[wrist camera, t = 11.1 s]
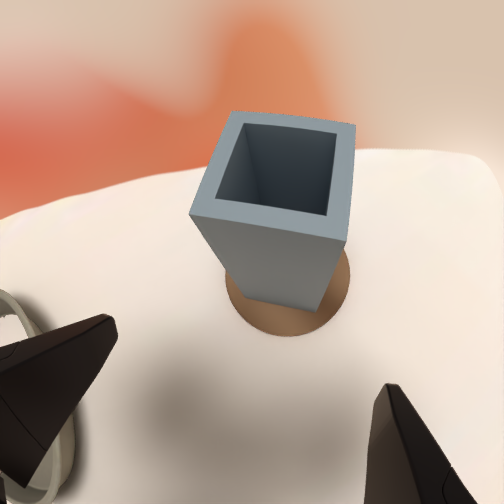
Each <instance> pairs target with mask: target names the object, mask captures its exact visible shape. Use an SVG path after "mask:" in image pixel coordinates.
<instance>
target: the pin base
mask: <svg viewBox="0 0 504 504" xmlns="http://www.w3.org/2000/svg"><path fill="white" fill-rule="evenodd" d="M225 278H226V287H227V292H228V294H229V297H230V300H231V302H232V304H233V306H234V307H235V309H236V310H237V311H238V313H239V314H240V315H241V316H242V317H243V318H244V319H245V320H246V321H247V322H248V323H250V324H251V325H252V326H254V327H256V328H257V329H259V330H261V331H263V332H266V333H269V334H272V335H277V336H297V335H302V334H306V333H309V332H311V331H314V330H316V329H317V328H319V327H321V326H323V325H324V324H325V323H326V322H328V321H329V320H330V319H331V318H332V317H333V316H334V315H335V313H336V312H337V311H338V309H339V308H340V307H341V305H342V303H343V301H344V299H345V297H346V294H347V292H348V287H349V282H350V268H349V263H348V259H347V256H346V253H345V251H344V249H343V251H342V254H341V256H340V258H339V261H338V263H337V266H336V268H335V270H334V273H333V275H332V277H331V280H330V282H329V284H328V287H327V289H326V291H325V293H324V296H323V298H322V300H321V302H320V304H319V307H318V309H317V311H316V313H315V312H310V311H305V310H300V309H295V308H290V307H285V306H280V305H275V304H271V303H266V302H261V301H257V300H252V299H248V298H245V297H244V295H243V294H242V292H241V291H240V290H239V288H238V287H237V285H236V284H235V282H234V281H233V279H232V278H231V277H230V275H229V274H228V272H227V271H226V274H225Z"/></svg>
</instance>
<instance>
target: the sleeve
mask: <svg viewBox="0 0 504 504" xmlns="http://www.w3.org/2000/svg"><path fill="white" fill-rule="evenodd" d="M355 133H356V125H354V124H348V123H343V122H337V121H330V120H323V119H317V118H310V117H302V116H293V115H284V114H272V113H260V112H259V113H258V112H243V111H232V112H231V114H230V116H229V118H228V120H227V123H226V125H225V127H224V129H223V132H222V134H221V136H220V138H219V140H218V143H217V145H216V148H215V150H214V152H213V155H212V157H211V159H210V161H209V164H208V166H207V169H206V171H205V173H204V176H203V178H202V181H201V183H200V186H199V188H198V191H197V193H196V196H195V198H194V201H193V204H192V206H191V209H190V211H189V216H190V217H191V219H192V220H193V222H194V223H195V225H196V226H197V228H198V229H199V231H200V232H201V234H202V235H203V237H204V238H205V240H206V241H207V243H208V244H209V246H210V247H211V249H212V250H213V252H214V253H215V255H216V256H217V258H218V259H219V260H220V262H221V263H222V265H223V266H224V268H225V269H226V271H227V272H228V274H229V275H230V277H231V278H232V279H233V281H234V282H235V284H236V285H237V287H238V288H239V290H240V291H241V292H242V294H243V295H244V297H245V298H248V299H252V300H257V301H261V302H266V303H271V304H275V305H280V306H285V307H290V308H295V309H300V310H305V311H310V312H315V313H316V311H317V309H318V307H319V304H320V302H321V300H322V298H323V296H324V293H325V291H326V289H327V287H328V284H329V282H330V280H331V277H332V275H333V273H334V270H335V268H336V266H337V263H338V261H339V258H340V256H341V254H342V251H343V249H344V246H345V244H346V241H347V233H348V225H349V216H350V206H351V195H352V184H353V170H354V155H355Z"/></svg>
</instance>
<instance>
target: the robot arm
mask: <svg viewBox="0 0 504 504" xmlns="http://www.w3.org/2000/svg"><path fill="white" fill-rule="evenodd" d="M117 339H118V332H117V328H116V324H115V320H114V318H113V317H112V316H109V315H107V314H100V315H97V316H94V317H91V318H88V319H85V320H82V321H79V322H76V323H73V324H70V325H67V326H64V327H61V328H58V329H55V330H52V331H49V332H46V333H43V334H40V335H37V336H34V337H31V338H28V339H25V340H22V341H18V342H15V343H12V344H9V345H6V346H2V347H0V504H7V501H6V494H5V486H4V479H3V477H2V476H1V474H2V473H4V474H5V475H7V476H8V477H9V478H10V479H12V480H13V481H14V482H16V483H17V484H18V485H20V486H21V487H22V488H24V489H25V488H26V487H27V486H28V484H29V482H30V480H31V478H32V477H33V475H34V473H35V472H36V470H37V468H38V466H39V465H40V463H41V461H42V460H43V458H44V456H45V455H46V453H47V451H48V450H49V448H50V446H51V445H52V443H53V442H54V440H55V438H56V437H57V435H58V434H59V432H60V430H61V429H62V427H63V426H64V424H65V423H66V421H67V420H68V418H69V416H70V415H71V413H72V412H73V410H74V409H75V407H76V406H77V404H78V403H79V401H80V400H81V398H82V397H83V395H84V394H85V392H86V391H87V390H88V388H89V387H90V385H91V384H92V382H93V381H94V379H95V378H96V376H97V375H98V373H99V372H100V370H101V368H102V367H103V365H104V363H105V361H106V359H107V358H108V356H109V354H110V352H111V350H112V349H113V347H114V345H115V343H116V342H117ZM364 504H478V503H477V502H476V501H475V500H474V498H473V497H472V496H471V494H470V493H469V491H468V490H467V489H466V487H465V486H464V484H463V483H462V481H461V480H460V478H459V477H458V475H457V473H456V472H455V470H454V468H453V467H451V464H450V462H449V461H448V459H447V457H446V456H445V454H444V453H443V451H442V449H441V448H440V446H439V445H438V443H437V442H436V440H435V439H434V437H433V435H432V434H431V432H430V431H429V429H428V428H427V426H426V425H425V423H424V422H423V420H422V419H421V417H420V416H419V414H418V413H417V411H416V410H415V408H414V407H413V405H412V404H411V402H410V401H409V399H408V398H407V396H406V395H405V394H404V392H403V391H402V389H401V388H400V386H399V385H397V384H390V383H386V384H385V385H384V386H383V388H382V389H381V391H380V393H379V394H378V396H377V398H376V400H375V402H374V407H373V415H372V423H371V430H370V437H369V444H368V454H367V473H366V486H365V497H364Z"/></svg>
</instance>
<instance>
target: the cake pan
mask: <svg viewBox="0 0 504 504" xmlns="http://www.w3.org/2000/svg"><path fill="white" fill-rule="evenodd" d="M10 314H13V315H17V316H18V317H19V319H20V321H21V323H22V325H23V326H24V329H25V331H26V333H27V335H28V338H31V337H34V336H37V335H40V334H43V333H42V331H41V330H40V329H39V328H38V326H37V325H36V324H35V323H34V322H33V321H31V320H30V319H29V318H28V317H27V316H26V315H25V313H24V311H23V310H22V308H21V307H20V305H19V304H18V303H17V301H16V300H15V299H14V298H13V297H12V296H11V295H10V294H8V293H7V292H5V291H4V290H1V289H0V318H1V317H5V316H6V315H10ZM74 455H75V429H74V420H73V413H71V415H70V416H69V418H68V420H67V421H66V423H65V424H64V426H63V427H62V429H61V430H60V432H59V434H58V435H57V437H56V438H55V440H54V442H53V443H52V445H51V446H50V448H49V450H48V451H47V453H46V455H45V456H44V458H43V460H42V461H41V463H40V465H39V466H38V468H37V470H36V472H35V473H34V475H33V477H32V478H31V480H30V482H29V484H28V486H27V487H26V488H25V489H24V488H22V487H21V486H20V485H18V484H17V483H16V482H14V481H13V480H12V479H10V478H9V477H8V476H7V475H5V474H4V473H2V474H1V476H2V477H3V479H4V486H5V494H6V500H8V501H9V502H11V503H12V504H51V503H52V502H53V500H54V498H55V497H56V495H57V492H58V489H59V487H60V486H61V485H63V484H64V482H65V481H66V480H67V478H68V477H69V475H70V472H71V470H72V466H73V462H74Z"/></svg>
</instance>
